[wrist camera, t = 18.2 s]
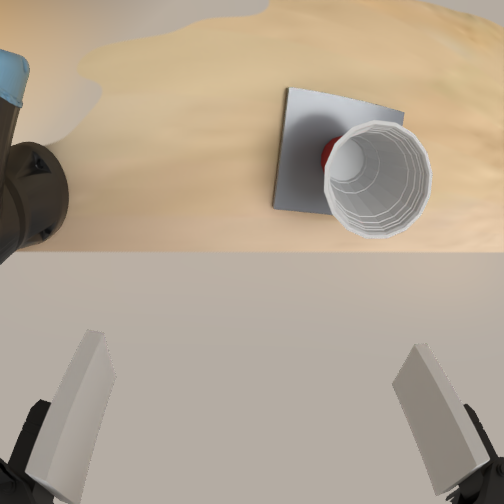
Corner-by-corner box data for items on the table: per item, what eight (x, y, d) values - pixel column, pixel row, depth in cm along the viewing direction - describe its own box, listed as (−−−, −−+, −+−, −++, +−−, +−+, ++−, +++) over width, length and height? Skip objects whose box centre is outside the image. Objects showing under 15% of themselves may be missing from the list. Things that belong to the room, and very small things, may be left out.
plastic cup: (355, 98, 32) (405, 99, 21) (394, 172, 36) (447, 201, 25) (280, 143, 34) (300, 162, 23) (326, 215, 38) (359, 260, 28)
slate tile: (272, 206, 39) (273, 209, 38) (287, 87, 32) (289, 86, 31) (378, 217, 40) (382, 221, 39) (400, 112, 33) (404, 112, 32)
